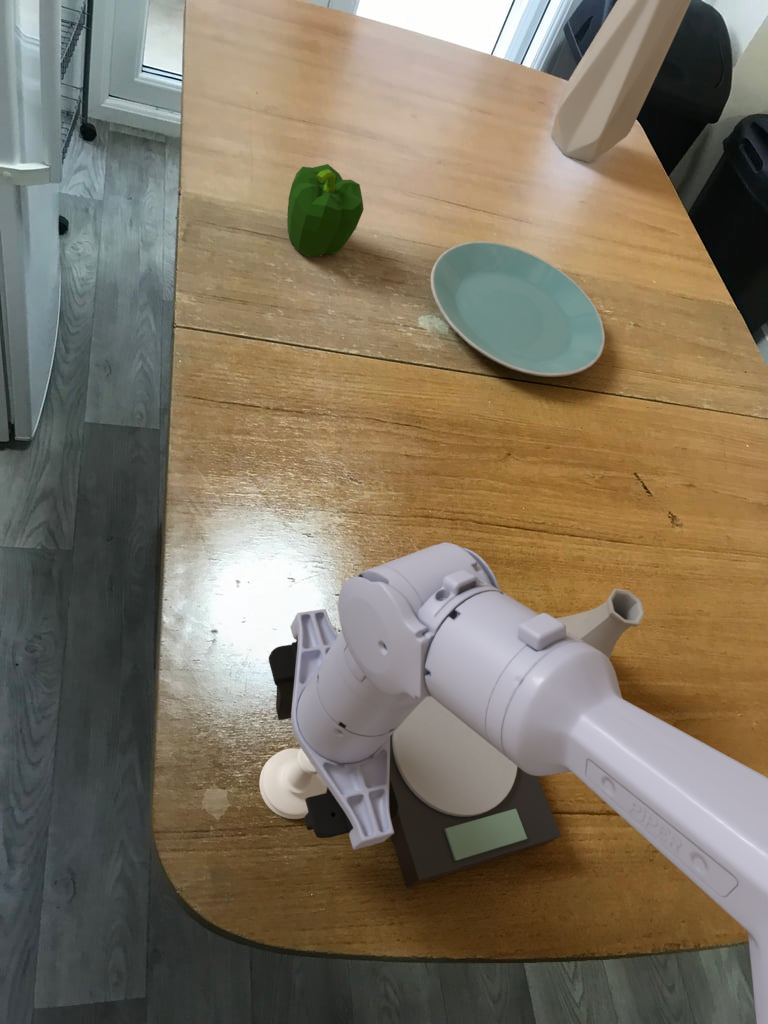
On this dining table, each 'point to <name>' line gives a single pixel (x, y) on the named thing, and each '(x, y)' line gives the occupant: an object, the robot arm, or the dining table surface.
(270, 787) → the chess piece
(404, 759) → the scale
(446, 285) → the plate
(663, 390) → the dining table surface
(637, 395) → the dining table surface
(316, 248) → the bell pepper
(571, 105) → the vase
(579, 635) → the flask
